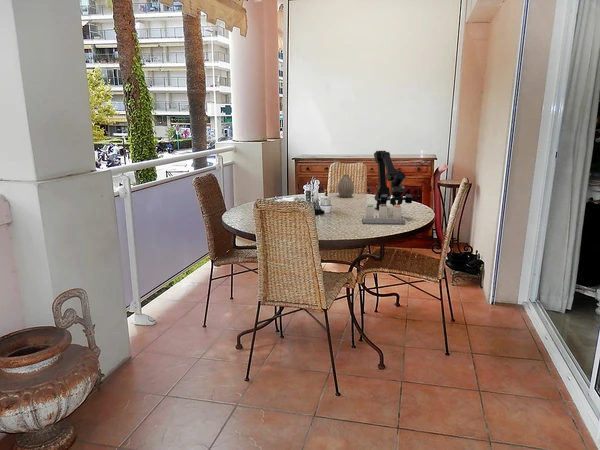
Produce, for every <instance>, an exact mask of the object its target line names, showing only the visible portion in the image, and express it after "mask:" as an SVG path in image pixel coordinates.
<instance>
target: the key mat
mask: <svg viewBox="0 0 600 450" xmlns="http://www.w3.org/2000/svg"><path fill="white" fill-rule="evenodd" d="M361 219H362V220H361V221H362V225H391V226H392V225H393V226H396V225H400V226H401V225H403V226H405V225H406V222H405V223H363V217H362V218H361Z"/></svg>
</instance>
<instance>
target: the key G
mask: <svg viewBox="0 0 600 450" xmlns="http://www.w3.org/2000/svg"><path fill="white" fill-rule="evenodd" d="M374 211H375V206H374V204H366V206H365V218H375V217H374V216H375V214H374V213H375V212H374Z"/></svg>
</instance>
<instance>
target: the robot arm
mask: <svg viewBox="0 0 600 450" xmlns="http://www.w3.org/2000/svg"><path fill="white" fill-rule="evenodd" d="M373 156H374V160H375V163H376V164H377V175H378V187H377V189H376V193H375V195H374V200H375V201H376V207H374V210H378V211H379V205H380V204H386V205H387V202H388V201H389V204H390V205H392V207H393V206H394V205H402V204H403V203H405V204H411V203H412V202H413V198H414V197H413V194H405V196H403V195H402V194H403V192H404V193H405V191H406V187H405V186H404V185H402V184H403V183H404V181H405V179H406V178H407V177H406V174H405V173H404V172H402V171H401V170H398V169H396V168H395V166H394V163H393V161H392V159H391V153H390V152H389V151H386V150H376V151H375V152H374V153H373ZM387 182H390V187H389V186H387ZM403 201H404V202H403ZM387 210H389V208H388V207H387Z"/></svg>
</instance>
